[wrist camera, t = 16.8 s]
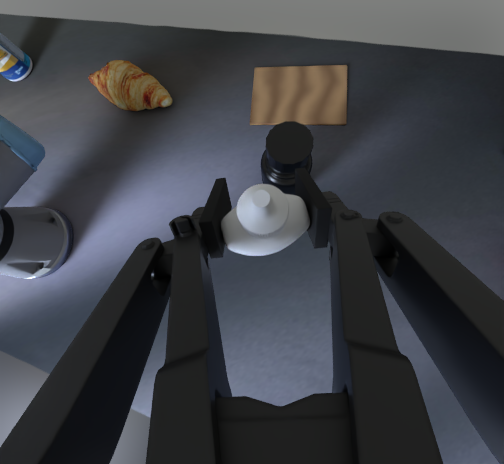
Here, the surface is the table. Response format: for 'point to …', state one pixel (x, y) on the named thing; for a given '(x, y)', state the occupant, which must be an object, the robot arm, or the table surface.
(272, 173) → the ink bottle
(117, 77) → the croissant
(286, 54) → the table surface
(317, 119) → the wooden board
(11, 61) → the beverage bottle
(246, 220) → the eye dropper bottle
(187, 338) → the robot arm
